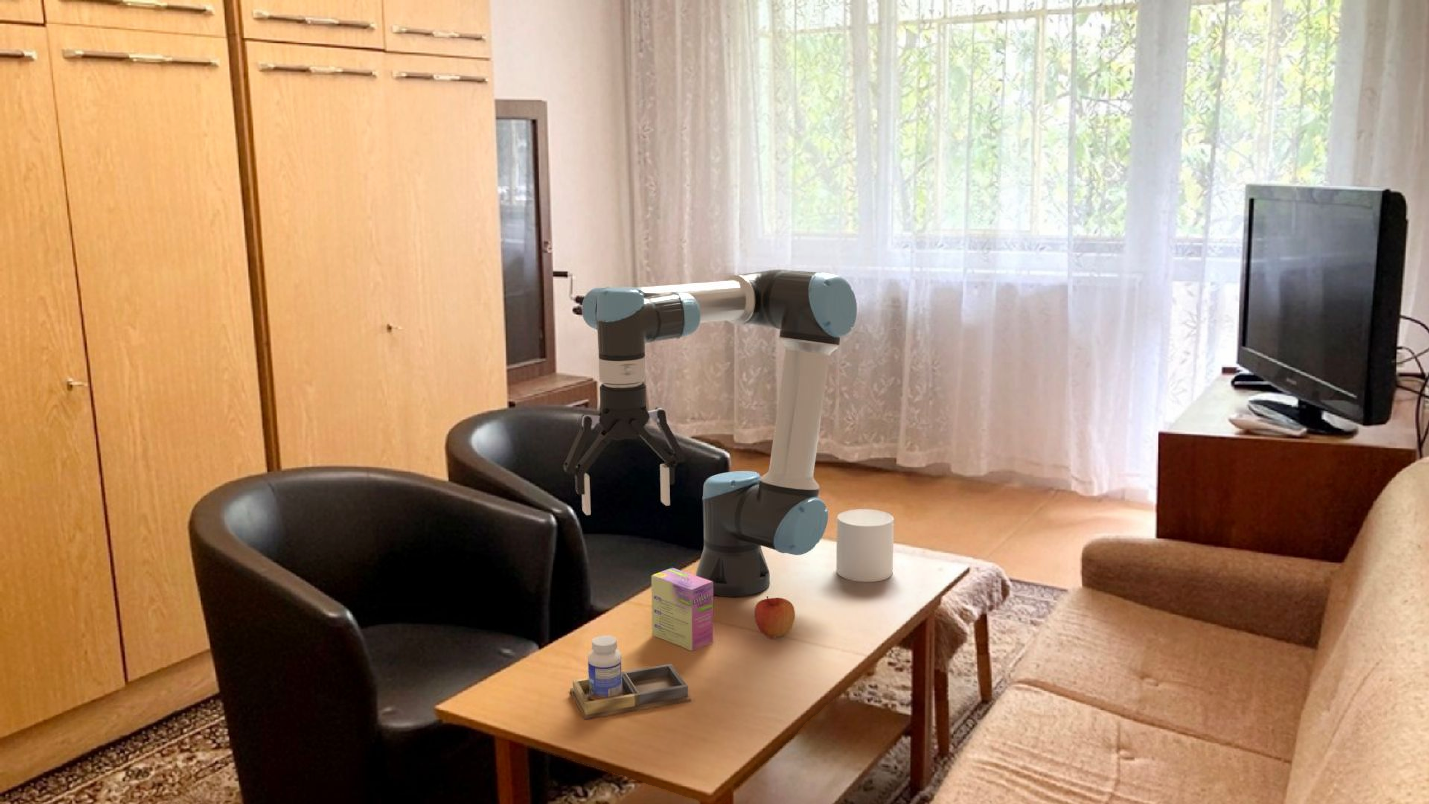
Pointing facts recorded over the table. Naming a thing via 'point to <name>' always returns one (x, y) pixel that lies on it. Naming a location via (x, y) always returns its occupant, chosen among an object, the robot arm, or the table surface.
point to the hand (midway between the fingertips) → (626, 508)
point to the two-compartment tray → (634, 692)
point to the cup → (865, 545)
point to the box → (682, 608)
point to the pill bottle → (604, 669)
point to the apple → (774, 617)
